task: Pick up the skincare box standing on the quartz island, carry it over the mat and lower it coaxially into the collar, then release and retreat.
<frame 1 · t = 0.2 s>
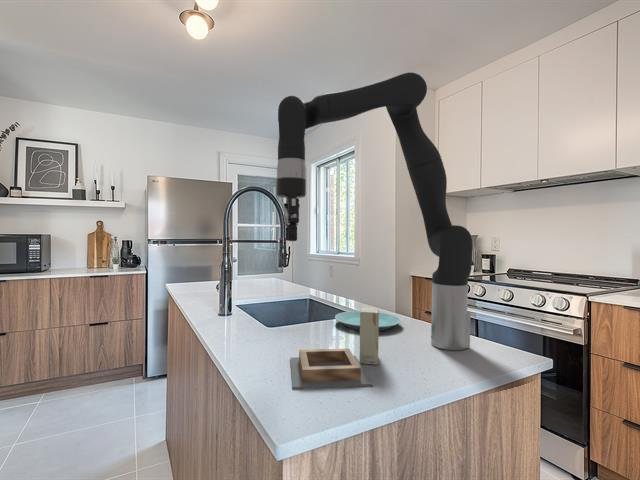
hand: (291, 240, 88), 29 cm above the counter, fingers open, 8 cm apart
mat: (327, 371, 75), on the counter
plate: (367, 326, 114), on the counter
skincare box: (369, 360, 82), on the counter
collar: (327, 363, 75), on the mat
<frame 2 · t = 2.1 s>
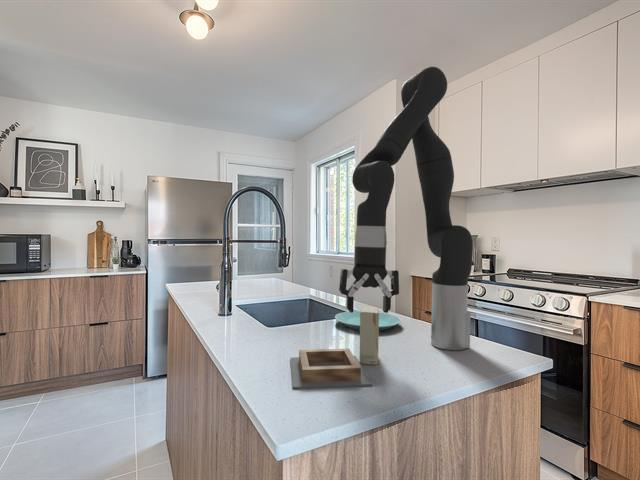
hand: (368, 312, 82), 12 cm above the counter, fingers open, 8 cm apart
nothing on the counter moved.
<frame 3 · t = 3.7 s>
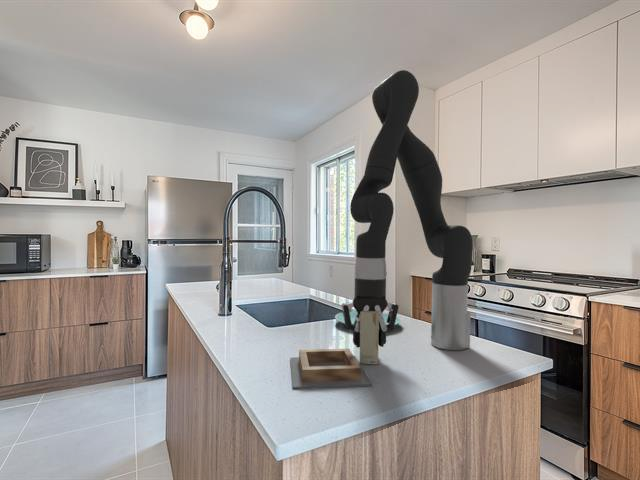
hand: (369, 345, 82), 3 cm above the counter, fingers closed on skincare box, 5 cm apart
skincare box: (369, 360, 82), on the counter, touching gripper
everything else where it was.
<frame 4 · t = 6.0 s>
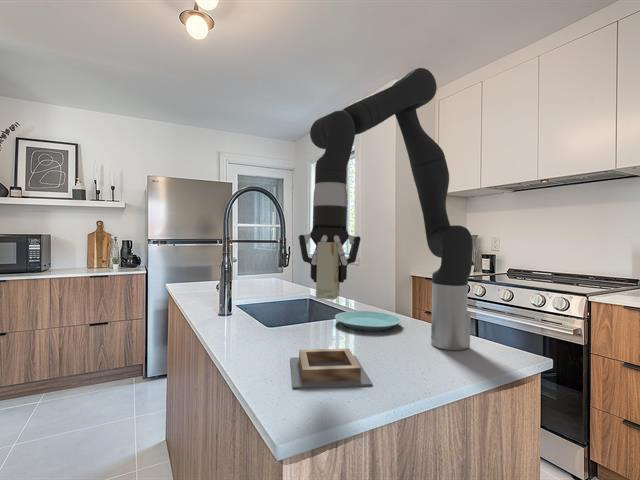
hand: (328, 281, 75), 20 cm above the counter, fingers closed on skincare box, 5 cm apart
skincare box: (327, 298, 75), point 16 cm above the counter, touching gripper
everything else where it was.
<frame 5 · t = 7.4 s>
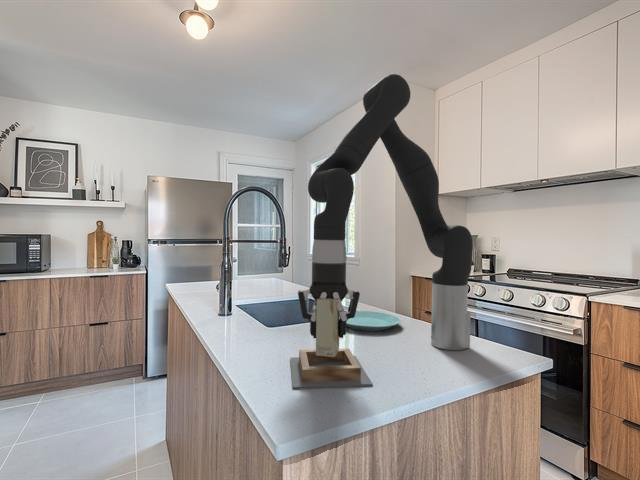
hand: (327, 336, 75), 8 cm above the counter, fingers closed on skincare box, 5 cm apart
skincare box: (327, 353, 75), point 4 cm above the counter, touching gripper
everything else where it was.
when the fingers open (5 cm above the counter, at t = 8.6 s): skincare box drops 1 cm, resting on mat.
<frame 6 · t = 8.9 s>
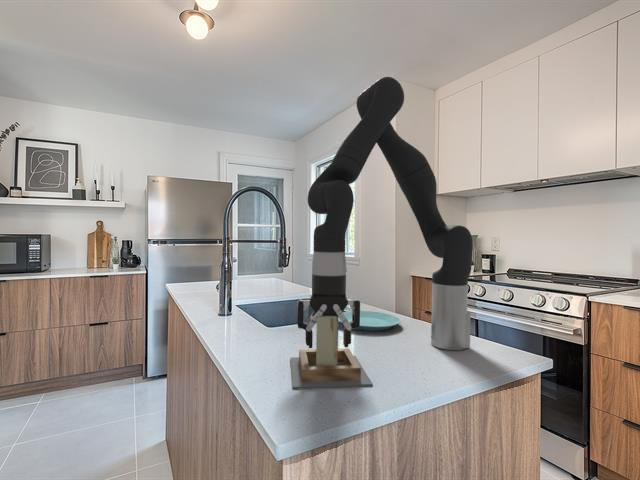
hand: (328, 346, 74), 5 cm above the counter, fingers open, 7 cm apart
skincare box: (327, 370, 75), resting on mat
everything else where it was.
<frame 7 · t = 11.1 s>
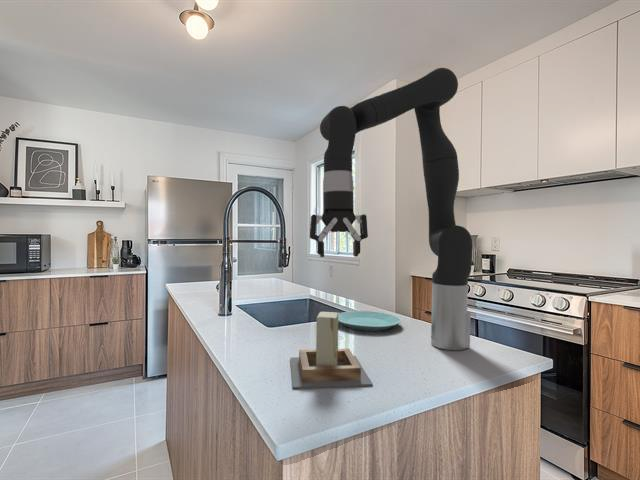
hand: (338, 256, 84), 25 cm above the counter, fingers open, 8 cm apart
nothing on the counter moved.
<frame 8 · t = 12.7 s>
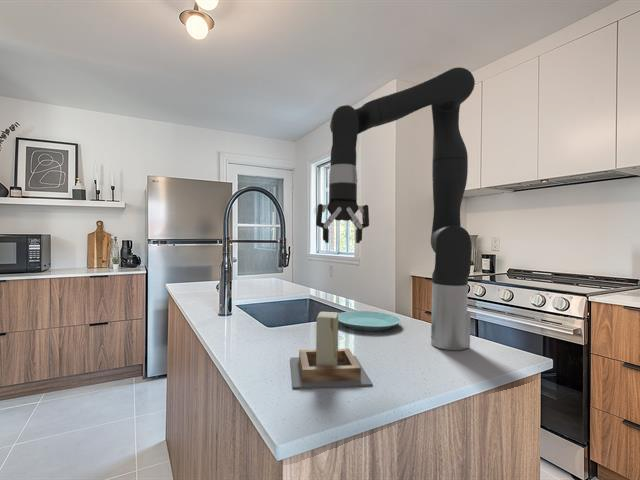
hand: (342, 242, 92), 28 cm above the counter, fingers open, 8 cm apart
nothing on the counter moved.
at the end: skincare box inside the target area on the collar (0.1 cm from its centre), point 0.2 cm above the collar's base; skincare box tilted 0°; the gripper is holding nothing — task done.
